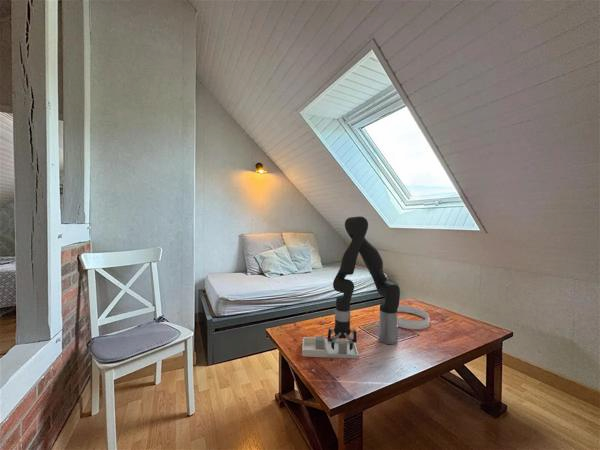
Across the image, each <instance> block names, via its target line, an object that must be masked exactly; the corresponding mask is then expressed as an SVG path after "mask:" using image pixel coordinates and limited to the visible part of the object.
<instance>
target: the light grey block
mask: <svg viewBox="0 0 600 450" xmlns="http://www.w3.org/2000/svg"><path fill="white" fill-rule="evenodd" d="M337 340H338V354H347V342H346V340H347V339H337Z"/></svg>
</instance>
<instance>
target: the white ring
mask: <svg viewBox="0 0 600 450" xmlns="http://www.w3.org/2000/svg"><path fill="white" fill-rule="evenodd" d="M397 313H410V314H413V315H416V316H419V317H421V318H423V319H422V320H410V319H405V318H401V317H398V316H397V326H398V328H399V327H400V328H403V329H408V330H425V329H427V328H429V327H430V324H431V318H430V316H429V314H428V312H427V311H425V310H423V309H421V308H419V307H415V306H411V305H404V304H399V307H398V309H397Z"/></svg>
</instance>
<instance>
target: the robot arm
mask: <svg viewBox="0 0 600 450" xmlns="http://www.w3.org/2000/svg"><path fill="white" fill-rule="evenodd" d="M344 228H345V231H346V233H347V235H348V236H349V238H350V239H351V241H350V243H349V245H348V247H347V248H346V249H345V252H344V253H343V255H342V258H341V264H340V266H339V270H338V271H337V273H336V276H335V277H334V279H333V282H332V287H333V290H334V291H336V292H339V293H342V294H343V295H340V296H337V297H336V299H335V312H334V313H335V314H334V328H332V327H328V329H327V330H328V331H327V339H328V341H331V348H333V350H334V341H335V340H338V339H343V340H349V341H350V343H349V349H350V350H351V349H353V343H354V342H355V344H356V343H357V342H358V340H357V339H358V338H357V329H356V328H353V329H351V301H352V297H353V293H354V292H355V291H354V290H355V284H354V282H353V281H352V280H351V279H348V278H346V277H347V276H351V275H354V273H355V269H356V263H357V258H358V256H359V254H360V257H361V259H362V260H363V263H364V265H365V266H366V268H367V270H368V272H369V274H370V276H371V277H372V280H373V282H374V285H375V288H376V291H377V293H378V294H379V295H380V296H381V297H383V298H384V302H382V303H380V305H379V322H378V323H379V326H378V340H379V342H380V343H383V344H384V345H395V344H398V339H399V326H397V317H398V312H397V309H398V307H399V305H400V300H401V298H400V297H401V290H400V287H399V285H397V284H396V283H394V282H391V281H390V280H389V279H388V278H387V276H386V275H385V274H384V271H383V270H384V261H383V259H382V256H381V254H380V252H379V250H378V249H377V248H376V247H375V246H374V245H373V244H372V243H371V242H370V241H369V240H368V239H367V238H366V235H367V232H368V229H369V222H368V219H367V218H366V217H365V216H351V217H348V218H346V219H345V221H344ZM333 332H334V334H333ZM332 334H333V336H332ZM350 334H352V336H353V337H351V336H350Z"/></svg>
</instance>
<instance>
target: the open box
mask: <svg viewBox="0 0 600 450" xmlns="http://www.w3.org/2000/svg"><path fill="white" fill-rule="evenodd" d="M323 339H324V350H318V349H316V336H315V337H314V336H313V337H312V336H303V337H302V348H301V351H302V352H301V357H309V358H311V357H313V358H314V357H315V358H328V357H327V342H326V339H327V337H323Z"/></svg>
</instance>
